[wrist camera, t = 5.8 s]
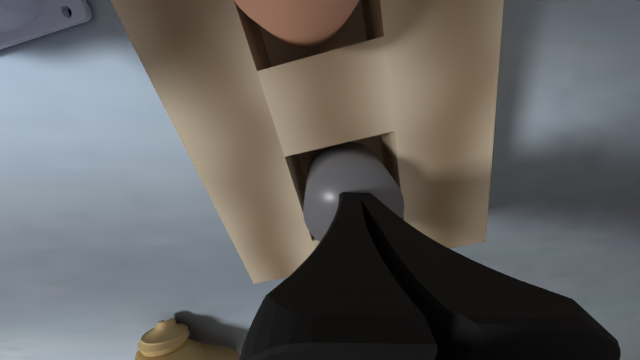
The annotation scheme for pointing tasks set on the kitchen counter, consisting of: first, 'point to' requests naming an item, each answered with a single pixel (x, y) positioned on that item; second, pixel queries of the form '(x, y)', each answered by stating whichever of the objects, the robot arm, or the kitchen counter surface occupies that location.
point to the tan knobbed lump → (178, 345)
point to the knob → (345, 183)
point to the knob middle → (300, 18)
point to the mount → (328, 111)
